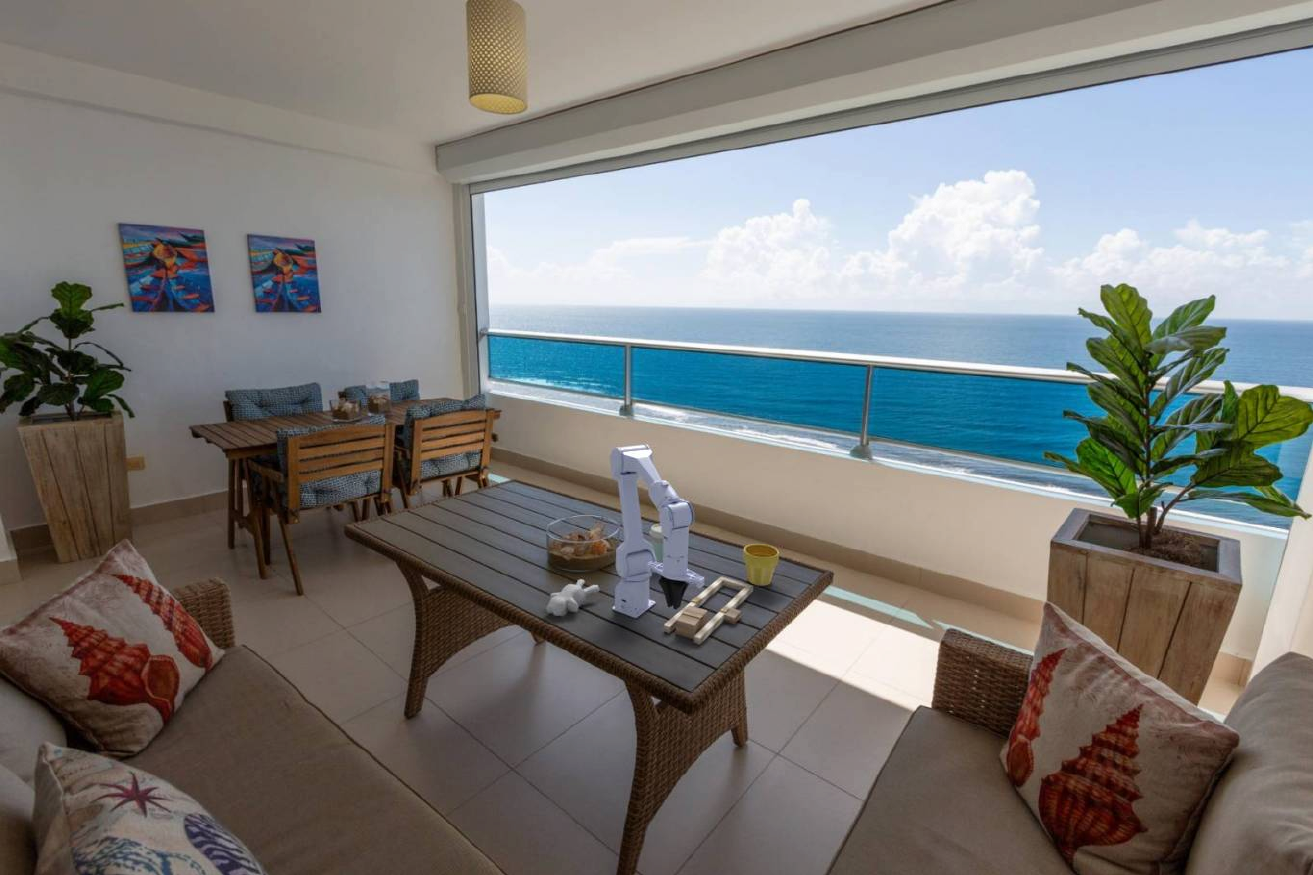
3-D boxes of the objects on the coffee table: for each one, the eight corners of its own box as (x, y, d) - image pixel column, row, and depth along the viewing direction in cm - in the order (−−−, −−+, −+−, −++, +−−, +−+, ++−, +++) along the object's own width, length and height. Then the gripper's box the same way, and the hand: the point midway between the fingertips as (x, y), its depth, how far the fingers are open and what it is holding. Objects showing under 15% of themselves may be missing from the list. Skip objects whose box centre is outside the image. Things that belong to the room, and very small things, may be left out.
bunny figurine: (537, 598, 146) (576, 571, 157) (540, 614, 147) (578, 587, 159) (563, 609, 140) (602, 580, 152) (566, 626, 142) (603, 596, 154)
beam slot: (710, 649, 132) (711, 641, 131) (663, 631, 139) (664, 623, 138) (762, 594, 158) (762, 587, 157) (720, 581, 165) (721, 575, 164)
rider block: (694, 640, 136) (694, 624, 135) (675, 634, 138) (676, 619, 137) (706, 624, 142) (707, 609, 142) (689, 619, 145) (689, 604, 144)
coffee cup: (678, 559, 179) (679, 524, 176) (672, 571, 171) (673, 534, 168) (653, 555, 181) (653, 521, 178) (645, 567, 173) (646, 531, 170)
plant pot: (752, 569, 173) (754, 540, 171) (783, 579, 166) (785, 549, 164) (735, 581, 165) (737, 550, 163) (766, 592, 159) (768, 561, 156)
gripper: (711, 554, 127) (709, 608, 130) (658, 539, 134) (657, 590, 137) (696, 566, 121) (694, 622, 124) (642, 549, 129) (641, 602, 132)
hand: (674, 606), depth 130 cm, fingers closed
